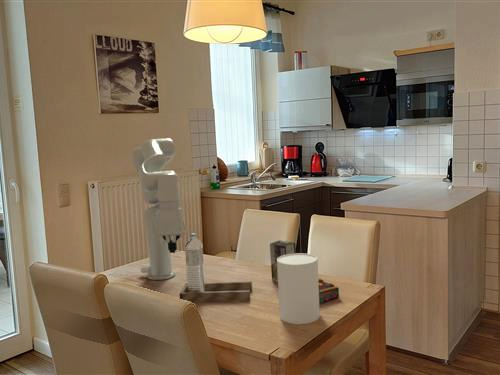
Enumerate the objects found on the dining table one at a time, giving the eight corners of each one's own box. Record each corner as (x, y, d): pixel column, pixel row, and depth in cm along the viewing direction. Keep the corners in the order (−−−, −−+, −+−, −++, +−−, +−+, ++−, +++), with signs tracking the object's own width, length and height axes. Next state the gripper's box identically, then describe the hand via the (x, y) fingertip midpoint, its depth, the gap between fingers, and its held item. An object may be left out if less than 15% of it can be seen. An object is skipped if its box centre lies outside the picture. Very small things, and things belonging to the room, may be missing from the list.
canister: (323, 322, 162) (321, 262, 159) (282, 325, 161) (279, 265, 158) (315, 307, 175) (312, 252, 173) (277, 310, 174) (274, 255, 172)
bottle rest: (180, 302, 187) (179, 293, 187) (186, 291, 199) (185, 283, 199) (250, 300, 185) (249, 291, 185) (252, 289, 197) (251, 281, 197)
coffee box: (297, 280, 205) (296, 242, 203) (287, 284, 201) (285, 246, 199) (281, 276, 212) (279, 239, 209) (271, 280, 207) (269, 243, 205)
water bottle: (203, 299, 189) (198, 235, 185) (185, 299, 190) (181, 236, 187) (208, 293, 195) (203, 231, 192) (191, 293, 197) (187, 231, 193)
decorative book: (315, 288, 196) (315, 276, 195) (341, 299, 182) (341, 286, 181) (291, 294, 190) (291, 281, 190) (316, 306, 176) (316, 293, 176)
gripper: (147, 207, 185) (151, 255, 188) (186, 206, 184) (190, 254, 187) (152, 204, 193) (156, 250, 195) (190, 202, 192) (193, 248, 194)
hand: (172, 252), depth 191 cm, fingers closed
